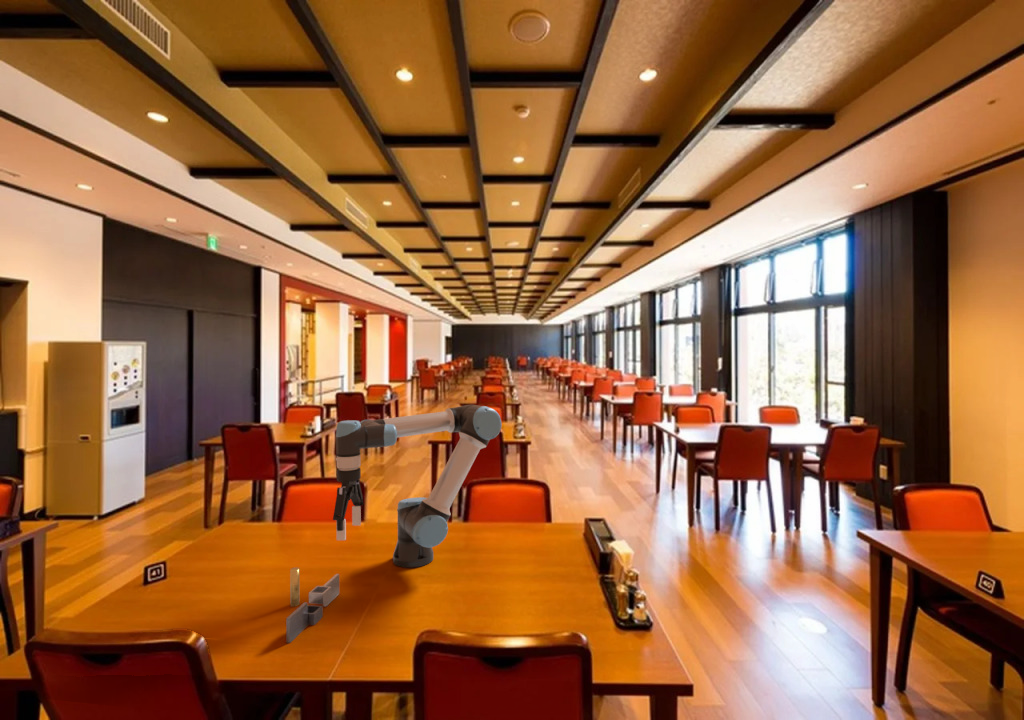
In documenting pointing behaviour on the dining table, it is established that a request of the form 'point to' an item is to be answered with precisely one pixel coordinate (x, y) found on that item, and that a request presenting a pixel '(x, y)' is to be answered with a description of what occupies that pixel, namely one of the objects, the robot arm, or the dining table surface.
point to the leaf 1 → (302, 620)
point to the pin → (294, 587)
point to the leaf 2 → (325, 592)
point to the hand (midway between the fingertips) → (349, 532)
